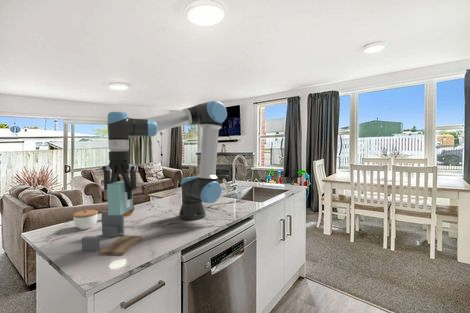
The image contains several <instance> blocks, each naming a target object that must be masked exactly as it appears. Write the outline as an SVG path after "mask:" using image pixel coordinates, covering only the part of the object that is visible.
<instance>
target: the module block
mask: <svg viewBox="0 0 470 313" xmlns="http://www.w3.org/2000/svg"><path fill="white" fill-rule="evenodd" d="M133 191H134V190H132V199H130V207H128V208H125V192H126V187H125V183H124V180H119V181H118V180H117V181H116V182H115V183H111V184H107V190H106V194H107V196H106V197H107V209H108V215H122V214H124V213H125V212H127V211H129V210H131V209H133V205H134V198H133V197H134V195H133V194H134V193H133Z"/></svg>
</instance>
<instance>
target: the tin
mask: <svg viewBox="0 0 470 313" xmlns="http://www.w3.org/2000/svg"><path fill="white" fill-rule="evenodd" d="M106 211H108V208H107V209H106ZM134 211H135V205H134V204H133V209H131V210H129V211H127V212H125V213H124V218H125V217H129V216H131V215H132V214H133V213H134Z"/></svg>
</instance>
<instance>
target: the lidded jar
mask: <svg viewBox="0 0 470 313" xmlns="http://www.w3.org/2000/svg"><path fill="white" fill-rule="evenodd" d="M72 217H73V222H74V225H75V226H76V228H78V229H79V230H81V231H82V230H89V229H92V228H93V227H94V226H95V225H96V223H97V222H98V218H99V211H98V210H96V209H87V208H85V209H84V210H80V211H76V212H75V213H73V214H72Z"/></svg>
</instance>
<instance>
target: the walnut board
mask: <svg viewBox="0 0 470 313" xmlns="http://www.w3.org/2000/svg"><path fill="white" fill-rule="evenodd" d="M142 239H143V235H126V234H125V235H120V237H118V238H117V239H115V240H114V241H113V242H111V243H110V244H108V245H107V246H106V247H104V248H103V249H102V250H100V251H99V254H100V256H101V255H102V256H104V255H106V256H107V255H111V256H114V255H115V256H117V255H118V256H122V255H123V256H124V255H125V254H126V253H127V252H128V251H130V250H131V249H132V247H134V246H135V245H136V244H138V242H140V241H141V240H142Z"/></svg>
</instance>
